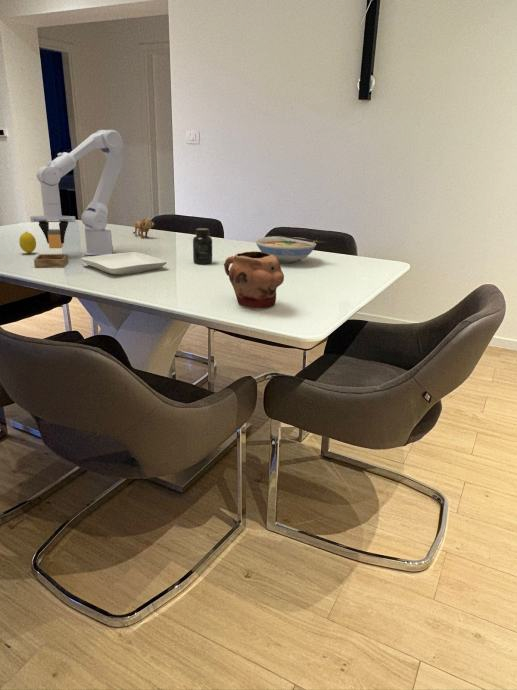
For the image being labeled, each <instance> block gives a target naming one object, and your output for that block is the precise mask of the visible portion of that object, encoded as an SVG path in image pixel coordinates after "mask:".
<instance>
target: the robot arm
mask: <svg viewBox="0 0 517 690" xmlns="http://www.w3.org/2000/svg"><path fill="white" fill-rule="evenodd" d="M123 145H124V141H123V138H122V137H121V134H120V133H119V131H117V130H115V129H98V130H97V131H95V132H94V133H91V134H90V135H89V136H88V137H87V138H86V139H85V140H83V141H82V142H81V143H80V144H79V145H77V146H76V147H75V148H74V149H73V150H72V151H70V152H65V151H63V152H58V153H57V154H56V155H57V157H55V158H54V159H53V160H51V161H48V162H47V163H46V165H45V166H41V167H40V168H39V169H38V170H37V174H36V179H37V180H38V181H39V182H40V192H41V201H42V208H43V215H31V216H30V219H29V220H30V223H38V227H39V228H40V230H41V231H42V233H43V235H44V237H45V239H46V242H47V244H49V240H48V232H47V231H48V230H49V229H50V227H49V226H50V225H49V223H58V226H59V229H60V233H61V243H63V244H64V243H65V237H66V232H67V228H68V225H69V223H76V221H77V219H76V216H74V215H72V216H71V215H63V214H62V208H61V207H62V205H61V197H60V189H59V183H60V181H61V178H63V177H64V176H66V175H67V174H68V173H69V172H71V171H72V170H74V169H75V168H76V167H77V161H79V160H80V159H81V158H83V157H84V156H86V155H87V154H89V153H91V152H92V151H93V150H95V149H100V151H102V153H103V154H104V157H105V158H106V162H105V164H104V167H103V171H102V173H101V176H100V179H99V181H98V184H97V186H96V191H95V192H94V196H93V199H92V201H90V203H89V204H88V205H87V207H86V208H85V210H84V211H83V212H82V214H81V216H80V217H81V218H80V219H81V222H82V224H83V225H84V236H85V247H86V248H85V249H86V251H85V252H84V256H100V255H108V254H113V250H114V245H113V241H112V240H113V239H112V230H111V229H106V227H107V225H108V215H109V210H108V206H109V205H108V204H109V202H110V199H111V196H112V194H113V191H114V188H115V185H116V182H117V179H118V177H119V174H120V172H121V168H122V166H123V163H124V152H123V151H124V150H123V149H124V148H123Z"/></svg>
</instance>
